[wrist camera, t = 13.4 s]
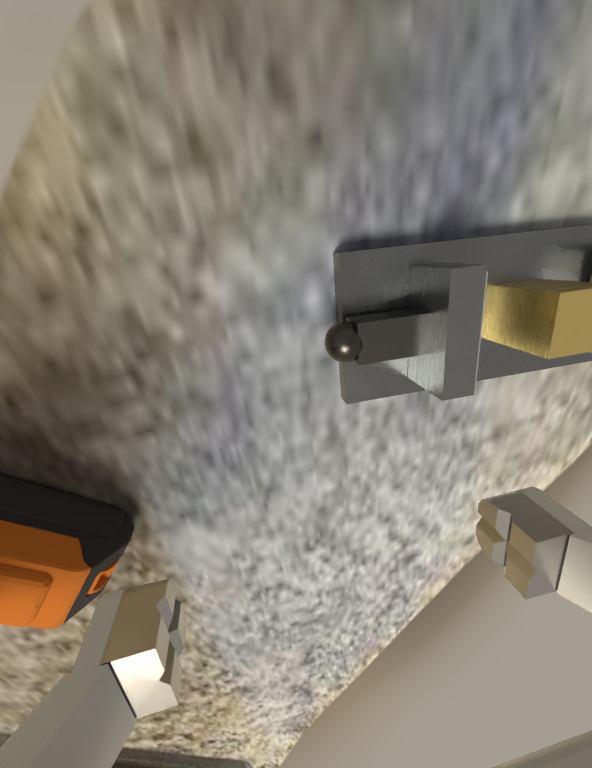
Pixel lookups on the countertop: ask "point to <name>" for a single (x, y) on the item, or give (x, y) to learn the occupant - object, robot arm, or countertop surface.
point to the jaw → (424, 330)
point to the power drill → (54, 552)
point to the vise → (504, 265)
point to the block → (543, 317)
